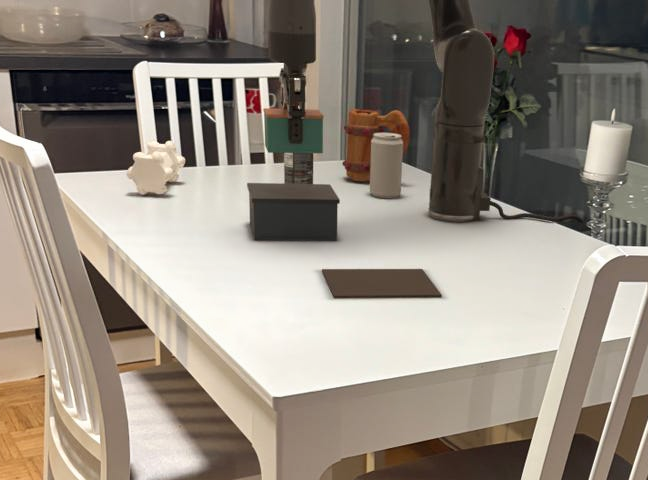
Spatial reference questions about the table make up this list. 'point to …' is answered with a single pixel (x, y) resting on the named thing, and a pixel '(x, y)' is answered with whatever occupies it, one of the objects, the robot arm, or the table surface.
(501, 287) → the table surface
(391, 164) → the beverage can
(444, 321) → the table surface
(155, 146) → the white bone
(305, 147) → the orange and teal box
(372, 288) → the mat
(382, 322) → the table surface
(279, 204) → the bottom box
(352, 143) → the mug
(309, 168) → the pill bottle
